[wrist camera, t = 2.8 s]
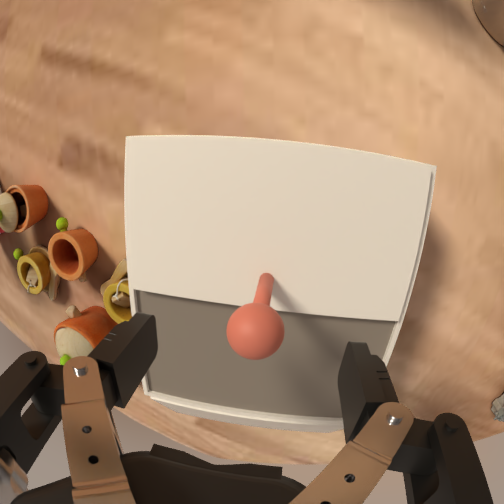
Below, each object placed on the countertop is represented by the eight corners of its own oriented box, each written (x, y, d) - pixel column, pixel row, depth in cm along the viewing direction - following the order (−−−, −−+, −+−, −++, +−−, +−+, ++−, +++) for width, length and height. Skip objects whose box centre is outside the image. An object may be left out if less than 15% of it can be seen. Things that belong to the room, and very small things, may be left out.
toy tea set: (182, 294, 33) (145, 343, 24) (127, 365, 38) (94, 411, 28) (34, 160, 30) (-22, 169, 21) (7, 248, 35) (-38, 269, 26)
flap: (429, 167, 16) (502, 180, 9) (396, 318, 19) (434, 391, 12) (132, 138, 18) (52, 138, 10) (134, 286, 21) (74, 343, 14)
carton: (389, 161, 25) (436, 166, 16) (331, 410, 35) (336, 471, 26) (178, 140, 27) (125, 136, 18) (181, 390, 37) (156, 445, 28)
